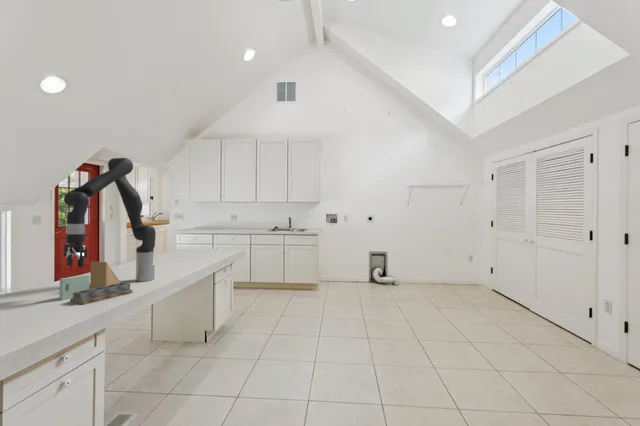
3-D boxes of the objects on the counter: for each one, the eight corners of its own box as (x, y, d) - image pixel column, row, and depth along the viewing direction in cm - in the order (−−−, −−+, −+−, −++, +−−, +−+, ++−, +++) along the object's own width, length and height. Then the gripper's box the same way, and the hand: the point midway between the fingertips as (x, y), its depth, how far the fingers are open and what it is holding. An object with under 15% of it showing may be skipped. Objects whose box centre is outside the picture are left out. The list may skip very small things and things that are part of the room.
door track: (119, 290, 176) (119, 282, 176) (132, 292, 172) (132, 284, 172) (70, 301, 154) (70, 292, 154) (84, 304, 150) (84, 294, 150)
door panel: (85, 294, 169) (86, 274, 168) (89, 294, 168) (89, 274, 167) (59, 299, 158) (59, 278, 157) (62, 300, 157) (63, 279, 156)
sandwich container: (122, 283, 193) (122, 257, 193) (106, 290, 178) (106, 262, 178) (107, 283, 193) (107, 257, 193) (89, 289, 178) (90, 261, 177)
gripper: (92, 233, 163) (92, 266, 163) (74, 232, 169) (74, 264, 169) (76, 234, 156) (75, 268, 156) (58, 232, 162) (57, 266, 162)
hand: (74, 266), depth 162 cm, fingers open, 8 cm apart
